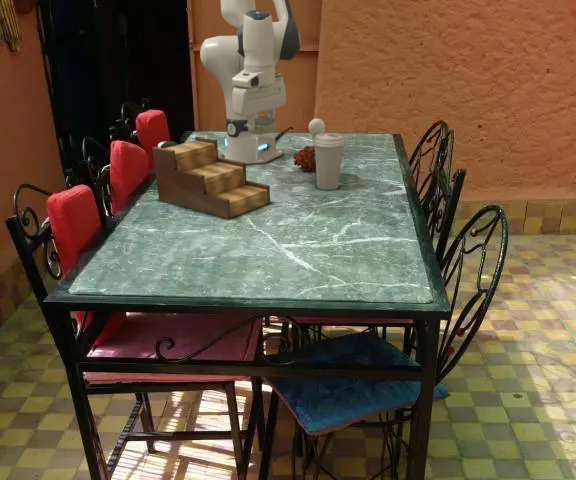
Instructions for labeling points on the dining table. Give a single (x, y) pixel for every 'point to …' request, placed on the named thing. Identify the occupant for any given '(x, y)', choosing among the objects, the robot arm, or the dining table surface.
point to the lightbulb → (316, 128)
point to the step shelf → (206, 180)
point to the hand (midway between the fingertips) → (261, 127)
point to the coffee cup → (328, 159)
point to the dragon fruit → (306, 158)
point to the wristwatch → (263, 125)
